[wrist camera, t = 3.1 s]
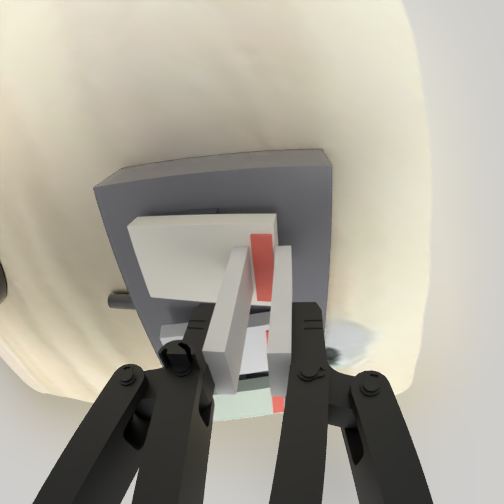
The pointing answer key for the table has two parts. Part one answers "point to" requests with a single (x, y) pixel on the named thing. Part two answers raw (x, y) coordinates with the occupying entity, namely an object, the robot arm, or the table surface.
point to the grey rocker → (253, 346)
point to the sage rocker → (248, 401)
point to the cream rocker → (203, 253)
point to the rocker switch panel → (223, 202)
